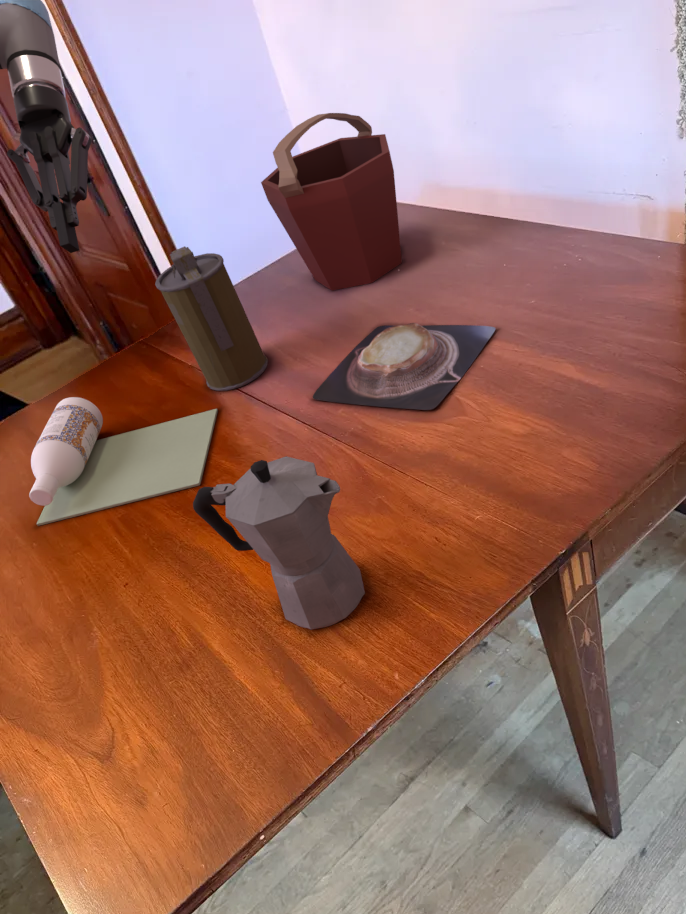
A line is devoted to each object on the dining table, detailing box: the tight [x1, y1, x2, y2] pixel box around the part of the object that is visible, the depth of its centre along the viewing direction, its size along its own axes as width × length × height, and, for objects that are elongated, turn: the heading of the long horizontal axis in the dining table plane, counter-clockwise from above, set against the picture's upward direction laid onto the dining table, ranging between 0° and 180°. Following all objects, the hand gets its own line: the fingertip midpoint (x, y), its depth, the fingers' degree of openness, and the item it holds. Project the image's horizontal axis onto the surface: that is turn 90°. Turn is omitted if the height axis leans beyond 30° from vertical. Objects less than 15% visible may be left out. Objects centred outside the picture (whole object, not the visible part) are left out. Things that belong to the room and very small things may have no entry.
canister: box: [154, 246, 269, 392], centre depth 113 cm, size 11×10×20 cm
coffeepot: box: [192, 455, 366, 630], centre depth 72 cm, size 15×9×18 cm, turn 78°
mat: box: [36, 408, 219, 527], centre depth 107 cm, size 24×18×1 cm
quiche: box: [312, 322, 496, 411], centre depth 106 cm, size 21×20×4 cm
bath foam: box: [28, 396, 104, 507], centre depth 107 cm, size 7×7×20 cm
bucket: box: [260, 112, 403, 291], centre depth 129 cm, size 24×22×25 cm
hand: (69, 248), depth 112 cm, fingers closed
